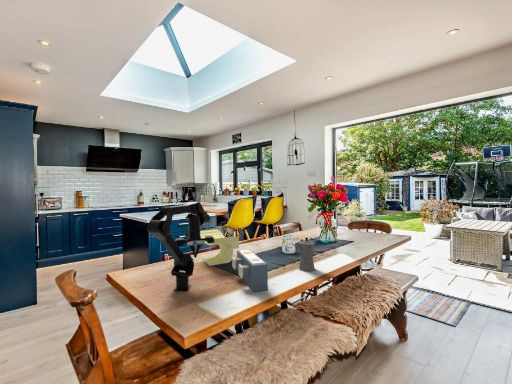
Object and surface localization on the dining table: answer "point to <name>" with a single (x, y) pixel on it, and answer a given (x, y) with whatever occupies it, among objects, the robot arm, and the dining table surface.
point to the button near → (243, 270)
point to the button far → (236, 262)
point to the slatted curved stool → (225, 247)
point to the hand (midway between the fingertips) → (195, 257)
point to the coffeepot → (306, 255)
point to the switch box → (254, 270)
